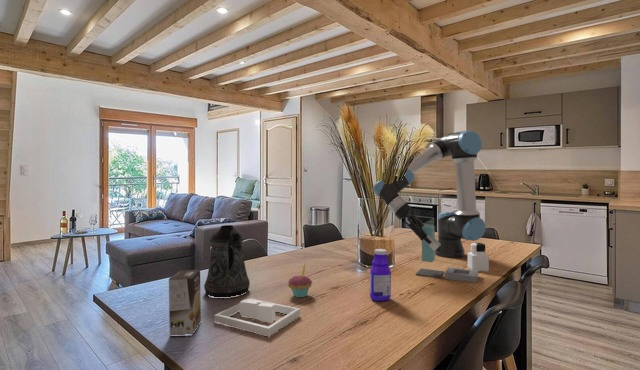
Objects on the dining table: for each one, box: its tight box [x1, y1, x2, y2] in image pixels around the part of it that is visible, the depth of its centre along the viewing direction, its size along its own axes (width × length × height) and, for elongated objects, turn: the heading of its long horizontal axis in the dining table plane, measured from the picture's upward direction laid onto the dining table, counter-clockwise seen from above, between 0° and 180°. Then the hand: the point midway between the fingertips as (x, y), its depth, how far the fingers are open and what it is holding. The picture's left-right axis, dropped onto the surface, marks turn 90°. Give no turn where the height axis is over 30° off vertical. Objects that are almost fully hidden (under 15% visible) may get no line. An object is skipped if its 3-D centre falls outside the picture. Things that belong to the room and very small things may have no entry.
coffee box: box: [168, 269, 202, 336], centre depth 101 cm, size 9×6×16 cm
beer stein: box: [203, 224, 251, 297], centre depth 132 cm, size 16×19×25 cm
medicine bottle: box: [467, 242, 490, 272], centre depth 161 cm, size 7×7×12 cm
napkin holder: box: [239, 299, 277, 322], centre depth 107 cm, size 15×11×6 cm
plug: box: [421, 225, 436, 263], centre depth 155 cm, size 4×4×15 cm
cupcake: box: [287, 263, 313, 298], centre depth 128 cm, size 9×8×12 cm
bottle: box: [369, 248, 392, 302], centre depth 124 cm, size 7×6×17 cm
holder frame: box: [213, 297, 301, 336], centre depth 107 cm, size 16×20×2 cm
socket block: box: [444, 266, 479, 284], centre depth 149 cm, size 10×12×2 cm
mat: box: [415, 268, 445, 279], centre depth 155 cm, size 10×10×1 cm
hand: (437, 247), depth 153 cm, fingers closed on plug, 5 cm apart
